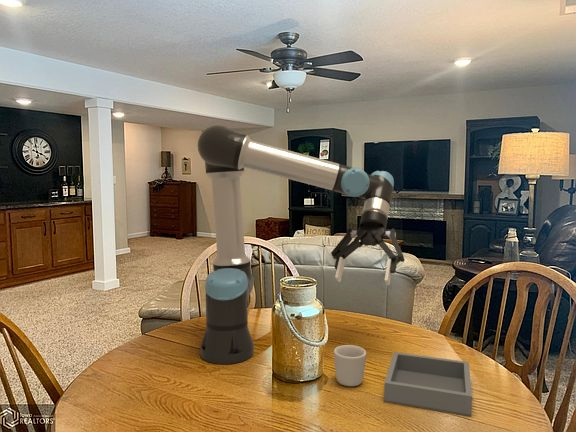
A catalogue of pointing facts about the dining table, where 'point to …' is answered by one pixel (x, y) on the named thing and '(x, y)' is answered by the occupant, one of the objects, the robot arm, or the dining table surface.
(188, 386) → the dining table surface
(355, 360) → the cup
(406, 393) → the tray
